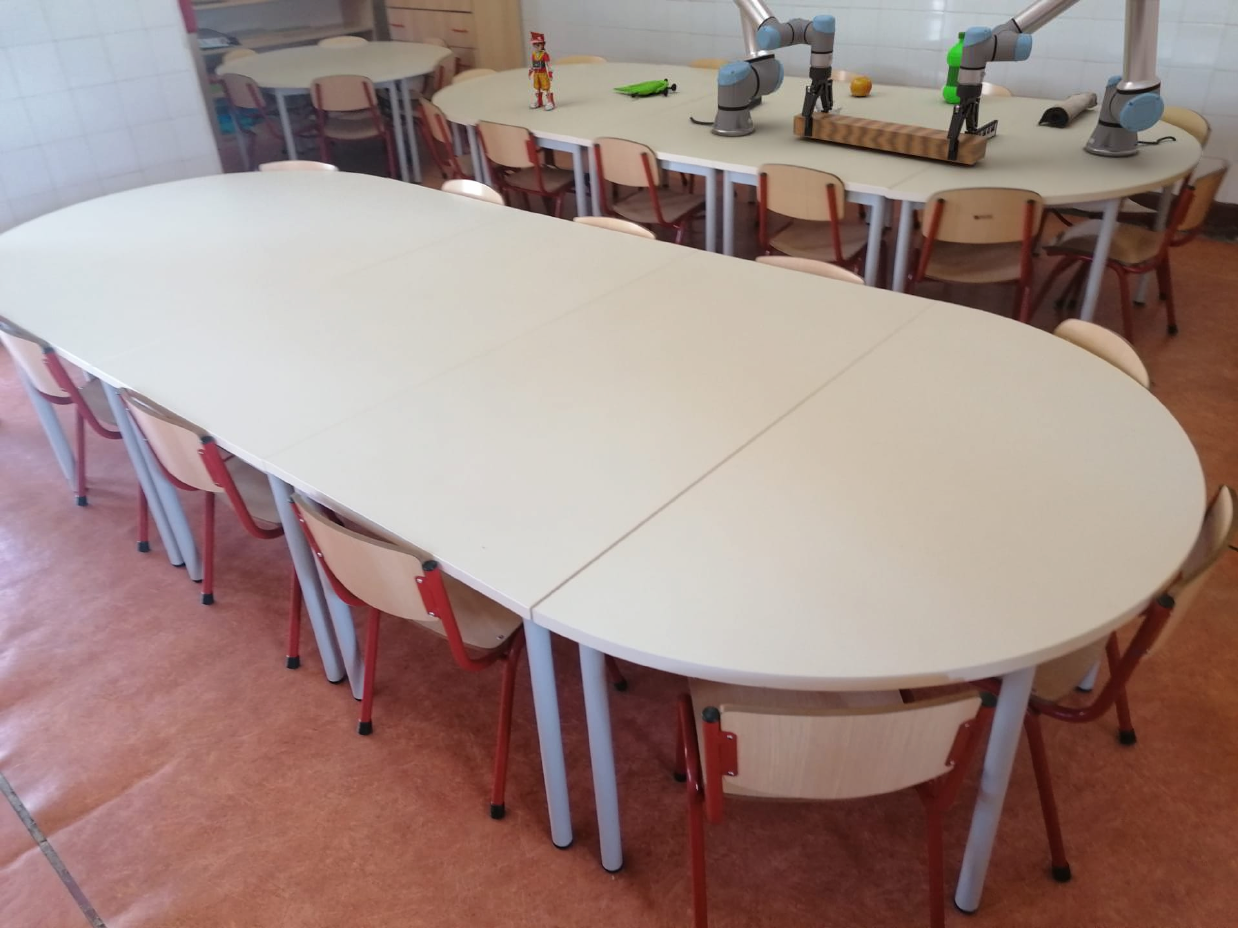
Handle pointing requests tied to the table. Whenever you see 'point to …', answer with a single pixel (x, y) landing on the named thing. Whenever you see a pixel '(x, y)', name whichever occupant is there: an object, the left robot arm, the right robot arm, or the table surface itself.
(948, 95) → the plastic bottle
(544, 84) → the toy
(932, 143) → the wide beam
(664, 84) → the toy
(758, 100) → the disk drive
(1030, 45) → the right robot arm
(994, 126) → the midi keyboard
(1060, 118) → the rolled mat
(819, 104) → the anatomical model
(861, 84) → the fruit
